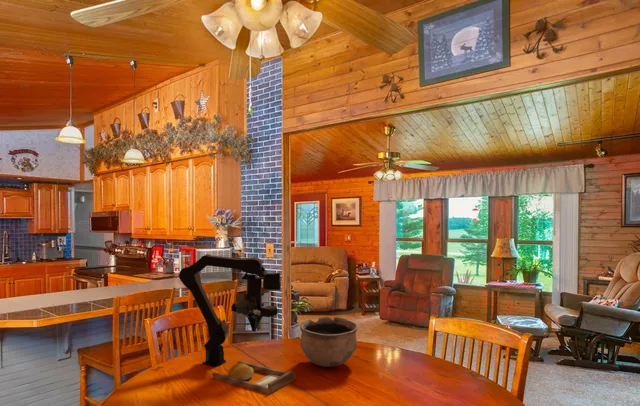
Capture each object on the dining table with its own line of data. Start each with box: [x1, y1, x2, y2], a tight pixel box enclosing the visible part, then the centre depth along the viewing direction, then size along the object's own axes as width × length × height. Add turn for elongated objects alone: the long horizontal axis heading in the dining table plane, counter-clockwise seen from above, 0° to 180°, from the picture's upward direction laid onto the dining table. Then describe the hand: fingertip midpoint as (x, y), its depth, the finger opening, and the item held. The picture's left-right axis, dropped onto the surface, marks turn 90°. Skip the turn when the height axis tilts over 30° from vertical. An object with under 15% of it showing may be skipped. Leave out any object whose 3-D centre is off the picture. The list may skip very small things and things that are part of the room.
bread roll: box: [227, 363, 255, 381], centre depth 147 cm, size 8×9×4 cm
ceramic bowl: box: [299, 316, 359, 368], centre depth 160 cm, size 22×22×15 cm
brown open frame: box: [211, 360, 296, 395], centre depth 146 cm, size 25×14×3 cm, turn 59°
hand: (254, 331), depth 161 cm, fingers closed
